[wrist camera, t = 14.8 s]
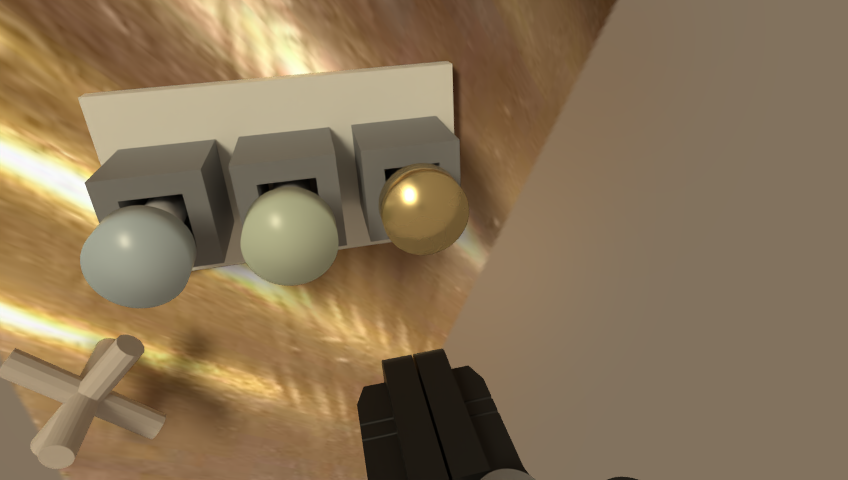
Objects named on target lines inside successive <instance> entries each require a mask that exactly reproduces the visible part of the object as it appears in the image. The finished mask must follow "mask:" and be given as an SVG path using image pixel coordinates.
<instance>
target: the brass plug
mask: <svg viewBox="0 0 848 480" xmlns="http://www.w3.org/2000/svg"><path fill="white" fill-rule="evenodd" d="M384 171H385V175H386V177H387V179H388V180H387V181H386V183H385V184H384V186H383V188H382V190H381V193H380V196H379V203H378V206H379V214H380V217H381V220H382V223H383V225H384V228H385V231H386V233H387V235H388V237H389V239H390V240H391V241H392V242H393V244H394V245H396V246H397V247H398V248H400V249H401V250H403V251H405V252H408V253H411V254H416V255H428V254H433V253H437V252H440V251H442V250H444V249H446V248H447V247H449V246H450V245H452V244H453V243H454V242H455V241H456V240H457V239H458V238H459V237H460V235H461V234H462V232H463V231H464V229H465V227H466V224H467V221H468V217H469V205H468V200H467V198H466V195H465V193H464V192H463V190H462V189H461V187H460V186H459V185H458V183H457V182H456V181H455V180H454V178H453V177H452V176H451V175H450V174H449V173H448V172H447V171H446V170H444V169H443V168H441V167H439V166H436V165H434V164H429V163H416V164H411V165H408V166H405V167H399V168H391V169H384Z"/></svg>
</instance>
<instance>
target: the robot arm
mask: <svg viewBox="0 0 848 480" xmlns="http://www.w3.org/2000/svg"><path fill="white" fill-rule="evenodd" d="M382 368H383V376H384V383H380V384H375V385H370V386H365V387H363V390H362V393H361V396H360V398H359V401H358V404H357V407H358V414H359V421H360V428H361V435H362V442H363V449H364V456H365V463H366V470H367V477H368V480H535V479H534V478H533V477H532V476H530V475H529V474H528V472H527V471H526V470H525V468H524V467H523V465H522V463H521V461H520V458H519V456H518V454H517V452H516V450H515V447H514V445H513V443H512V441H511V439H510V436H509V434H508V432H507V430H506V427H505V425H504V423H503V421H502V419H501V416H500V414H499V413H498V411H497V408H496V405H495V403H494V401H493V399H492V398H491V394H490V392H489V390H488V388H487V386H486V383H485V381H484V379H483V378H482V377H481V376H480V375H478V374H477V373H476V372H475V371H474V370H473V369H472V368H471V367H469V366H464V367H459V368H454V369H451V367H450V364H449V361H448V359H447V357H446V354H445V351H444V350H443V349H437V350H432V351H427V352H422V353H417V354H413V357H412V355H407V356H402V357H397V358H392V359H387V360H382ZM608 480H638V479H634V478H629V477H615V478H611V479H608Z"/></svg>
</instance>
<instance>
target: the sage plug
mask: <svg viewBox="0 0 848 480" xmlns="http://www.w3.org/2000/svg"><path fill="white" fill-rule="evenodd" d="M338 244H339V242H338V233H337V227H336V221H335V217H334V214H333V212H332V210H331V208H330V207H329V206H328V204H327V203H326V202H325V201H324V200H323V199H322V198H321V197H319V196H318V195H317V194H315V193H313V192H311V191H310V182H309V179H300V180H292V181H284V182H275V183H273V190H270V191H268V192H266V193H264V194H263V195H261V196H260V197H258V198H257V199H256V200H255V201H254V202H253V203H252V205H251V206H250V208H249V209H248V211H247V213H246V216H245V220H244V225H243V229H242V234H241V251H242V255H243V257H244V259H245V262H246V263H247V265H248V266H249V267H250V269H251V270H252V271H253V272H254V273H256V274H257V275H258V276H260V277H261V278H263V279H265V280H267V281H269V282H272V283H275V284H279V285H288V286H293V285H300V284H305V283H308V282H311V281H313V280H315V279H317V278H318V277H320V276H321V275H322V274H324V273H325V272H326V271H327V270H328V269H329V268H330V266H331V265H332V264H333V262H334V260H335V258H336V255H337V252H338Z"/></svg>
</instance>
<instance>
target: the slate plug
mask: <svg viewBox="0 0 848 480" xmlns="http://www.w3.org/2000/svg"><path fill="white" fill-rule="evenodd" d="M187 215H188V212H187V209H186V205H185V201H184V198H183V194H176V195H168V196H160V197H152V198H149V199H148V201H147V203H146V204H145V205H135V206H127V207H123V208H120V209H118V210H115V211H113V212H112V213H110V214H109V215H107V216H106V217H105V218H104V219H103V220H102V221H101V222H100V224H99V225H98V226H97V227H96V229H95V230H94V231H93V232H92V234H91V235H90V236H89V238H88V239H87V240H86V242H85V244H84V245H83V248H82V251H81V256H80V264H81V269H82V272H83V275H84V277H85V279H86V281H87V282H88V284H89V285H90V286H91V287H92V288H93V289H94V290H95V291H96V292H97V293H98V294H99V295H101V296H102V297H104V298H105V299H107V300H109V301H111V302H113V303H116V304H119V305H122V306H126V307H131V308H150V307H155V306H159V305H162V304H165V303H167V302H169V301H171V300H172V299H174V298H175V297H176V296H178V295H179V294H180V293H181V292H182V290H183V289H184V288H185V286H186V284H187V282H188V279H189V277H190V274H191V271H192V268H193V265H194V262H195V259H196V244H195V240H194V238H193V235H192V234H191V232H190V230H189V229H188V227H187V226H186V225H185V224H184V222H185V220H186V217H187Z"/></svg>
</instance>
